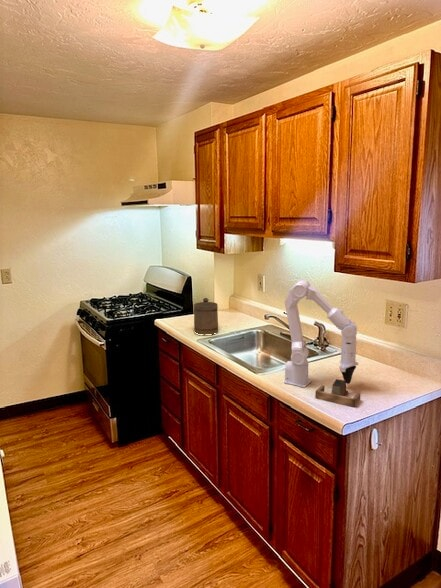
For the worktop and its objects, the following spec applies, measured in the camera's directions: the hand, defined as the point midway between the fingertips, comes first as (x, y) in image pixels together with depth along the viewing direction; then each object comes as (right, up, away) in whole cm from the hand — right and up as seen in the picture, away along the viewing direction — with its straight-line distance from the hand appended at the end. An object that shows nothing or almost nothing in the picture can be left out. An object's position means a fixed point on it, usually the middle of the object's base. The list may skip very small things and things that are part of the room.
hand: (347, 382), depth 169 cm
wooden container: (-61, +12, +86) cm, 106 cm away
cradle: (-7, -4, -10) cm, 13 cm away
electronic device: (-5, -4, -7) cm, 10 cm away
